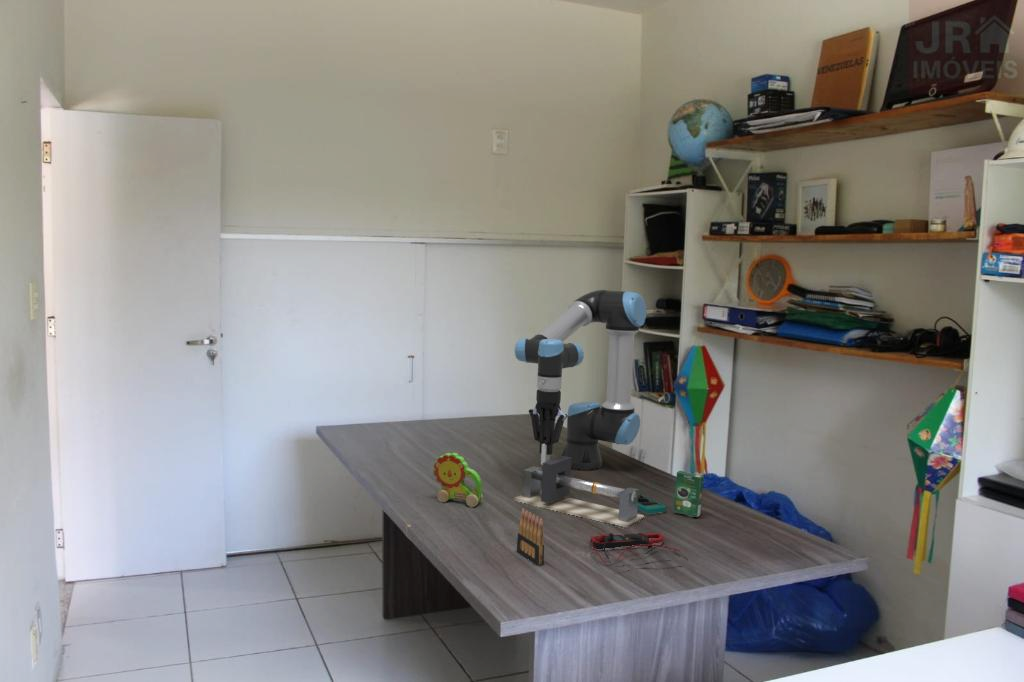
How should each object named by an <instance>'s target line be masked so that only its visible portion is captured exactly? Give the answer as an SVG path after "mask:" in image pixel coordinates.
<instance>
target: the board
mask: <svg viewBox="0 0 1024 682" xmlns="http://www.w3.org/2000/svg"><path fill="white" fill-rule="evenodd" d="M541 492H542V490H541V491H540V494H539V495H537V496H534V497H532V498H527V497H523V496H522V494H520V495H517V496H515V497H514V498H513V501H514V502H516V501H517V503H520V502H522V503H521V504H524V503H526V504H525V505H528V504H530V505H529V506H532V505H533V507H536V506H537V507H536V508H540V507H541V509H544V508H545V510H548V509H550V510H549V511H552V510H554V511H553V512H556V511H558V512H557V513H560V512H561V513H562V514H564V513H566V514H565V515H568V514H570V515H569V516H572V515H575V516H574V517H576V516H578V517H577V518H580V517H583V518H582V519H584V518H587V519H586V520H588V519H592V520H596V521H600V522H606V523H610V524H615V525H619V526H623V527H627V526H628V525H630V524H632V523H634V522H636V521H638V520H639V519H641V518H643V517H644V518H645V514H640V513H637V518H635V519H633V520H631V521H629V522H625V521H620V520H618V519H619V508H613V507H609V506H607V505H601V504H599V503H593V502H589V501H585V500H580V499H577V498H571V497H569V496H565V497H563V498H561V499H558V500H556V501H554V502H551V503H546V502H542V501H541ZM561 513H560V514H561ZM592 520H591V521H592ZM596 521H595V522H596ZM600 522H599V523H600Z"/></svg>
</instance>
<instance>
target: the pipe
mask: <svg viewBox="0 0 1024 682" xmlns="http://www.w3.org/2000/svg"><path fill="white" fill-rule="evenodd" d="M542 471H543V467H538V466H530V467H528V468H525V469H523V470H522V488H521V491H522V492H521V495H522V496H523V497H527V498H532V497H534V496H537V495H539V494H540V491H542ZM556 484H558V485H562V486H567V487H570V489H571V488H572V489H576V490H579V491H585V492H589V493H592V494H593V495H602V496H608V497H611V498H616V499H618V500H619V505H618V509H619V519H618V520H620V521H625V522H629V521H631V520H633V519H635V518H637V514H638V510H637V508H638V494H639V491H640V489H639V488H633V487H628V488H621V487H616V486H612V485H608V484H603V483H601V482H598V481H590V480H589V481H588V480H584V479H580V478H575V477H567V476H563V475H558V474H557V479H556Z"/></svg>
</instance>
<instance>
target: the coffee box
mask: <svg viewBox="0 0 1024 682" xmlns="http://www.w3.org/2000/svg"><path fill="white" fill-rule="evenodd" d="M704 478H705V476H704V475H701V474H696V473H692V472H687V471H683V470H679V471H677V472H676V478H675V479H676V480H675V491H674V501H673V512H678V513H682V514H687V515H692V516H699V515H700V516H701V508H702V501H703V500H702V499H703V487H704Z"/></svg>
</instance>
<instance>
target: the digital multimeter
mask: <svg viewBox="0 0 1024 682" xmlns="http://www.w3.org/2000/svg"><path fill="white" fill-rule="evenodd" d="M637 509H639V510H641V511H643V512H645V513H647V514H648V513H658V512H664V511H666V512H667V506H666V505H664V504H662V503H660V502H658V501H656V500H654V499H651V498H649V497H647V496H646V495H643V494H640V493H638V508H637Z"/></svg>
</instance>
